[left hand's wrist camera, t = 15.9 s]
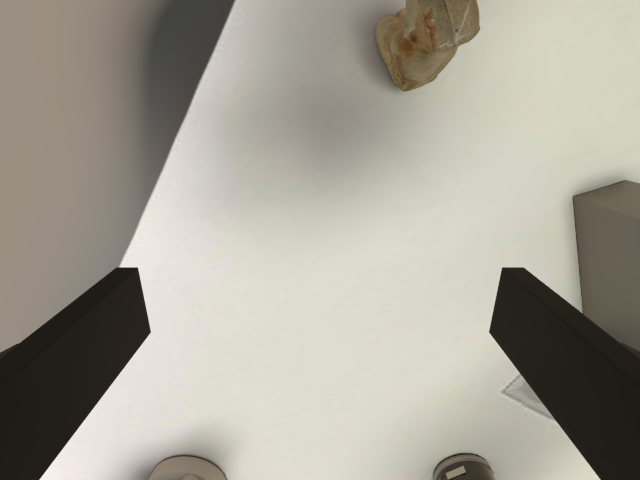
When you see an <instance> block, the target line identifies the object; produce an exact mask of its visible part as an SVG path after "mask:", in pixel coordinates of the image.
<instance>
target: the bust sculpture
mask: <svg viewBox="0 0 640 480" xmlns="http://www.w3.org/2000/svg"><path fill="white" fill-rule="evenodd" d="M149 480H226V478H225V476H224V474H223V473H222V472H221V471H220V470H219V469H218V468H217V467H216V466H215V465H213V464H211V463H210V462H208V461H205V460H203V459H199V458H195V457H187V456H181V457H174V458H170V459H167V460H165V461H163V462H161V463H160V464H158V465H157V466H156V467H155V469H154V470H153V472H152V474H151V476H150V478H149Z"/></svg>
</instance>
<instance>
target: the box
mask: <svg viewBox="0 0 640 480" xmlns="http://www.w3.org/2000/svg"><path fill="white" fill-rule="evenodd" d="M573 202H574V214H575V225H576V236H577V247H578V259H579V270H580V281H581V293H582V304H583V315H585V316H586V317H587V318H589V319H590V320H591V321H592V322H594V323H595V324H596V325H598V326H599V327H600V328H601V329H603V330H604V331H605V332H607V333H608V334H609V335H610V336H612V337H613V338H614V339H615V340H617V341H618V342H623V343H625V344H627V345H629V346H631V347H633V348H635V349H636V350H638V351H640V183H635V182H631V181H627V180H626V181H622V182H619V183H616V184H613V185H609V186H606V187H603V188H600V189H596V190H593V191H590V192H587V193H583V194H580V195H577V196H574V197H573Z"/></svg>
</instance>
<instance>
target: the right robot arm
mask: <svg viewBox="0 0 640 480" xmlns="http://www.w3.org/2000/svg"><path fill="white" fill-rule="evenodd" d="M434 480H495V478H494V475H493V472H492V470H491V468H490V466H489V464H488V462H487V461H486V460H484V459H483V458H481V457H479V456H476V455H470V454H463V455H456V456H453V457H450V458H448V459H446V460H445V461H443V462H442V463H441V464H439V466H438V467H437V468H436V470H435V472H434Z"/></svg>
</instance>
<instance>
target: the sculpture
mask: <svg viewBox="0 0 640 480" xmlns="http://www.w3.org/2000/svg"><path fill="white" fill-rule="evenodd" d="M479 30H480V26H479V10H478V5H477V1H476V0H406V8H403V9H401V10H400V11H399V12H398V14H397V17H394V16H391V15H386V16H384V17H382V18H381V19H380V20H379V21H378V22H377V24H376V27H375V37H376V42H377V45H378V48H379V51H380V53H381V55H382V58H383V60H384V62H385V64H386V66H387V68H388V70H389V72H390V74H391V77H392V79H393V82H394V83H395V85H396V86H399V87H400V88H401V89H402V90H403V91H409V90H412V89H415V88H418V87H420V86H423V85H425V84H427V83H429V82H431V81H433V80H434V79H435V78H436V77H437V75H438V74H439V73H440V72H441V71H442V70H443V69H444V67H445V66H446V65H447V64H448V63H449V61H450V60H451V59H452V58H453V56H454V55H455V53H456V51H457V48H458V46H459V45H462V44H464V43H466V42H468V41H470V40H471V39H473V38H474V37H475V36H476V35H477V33H478V32H479Z"/></svg>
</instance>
